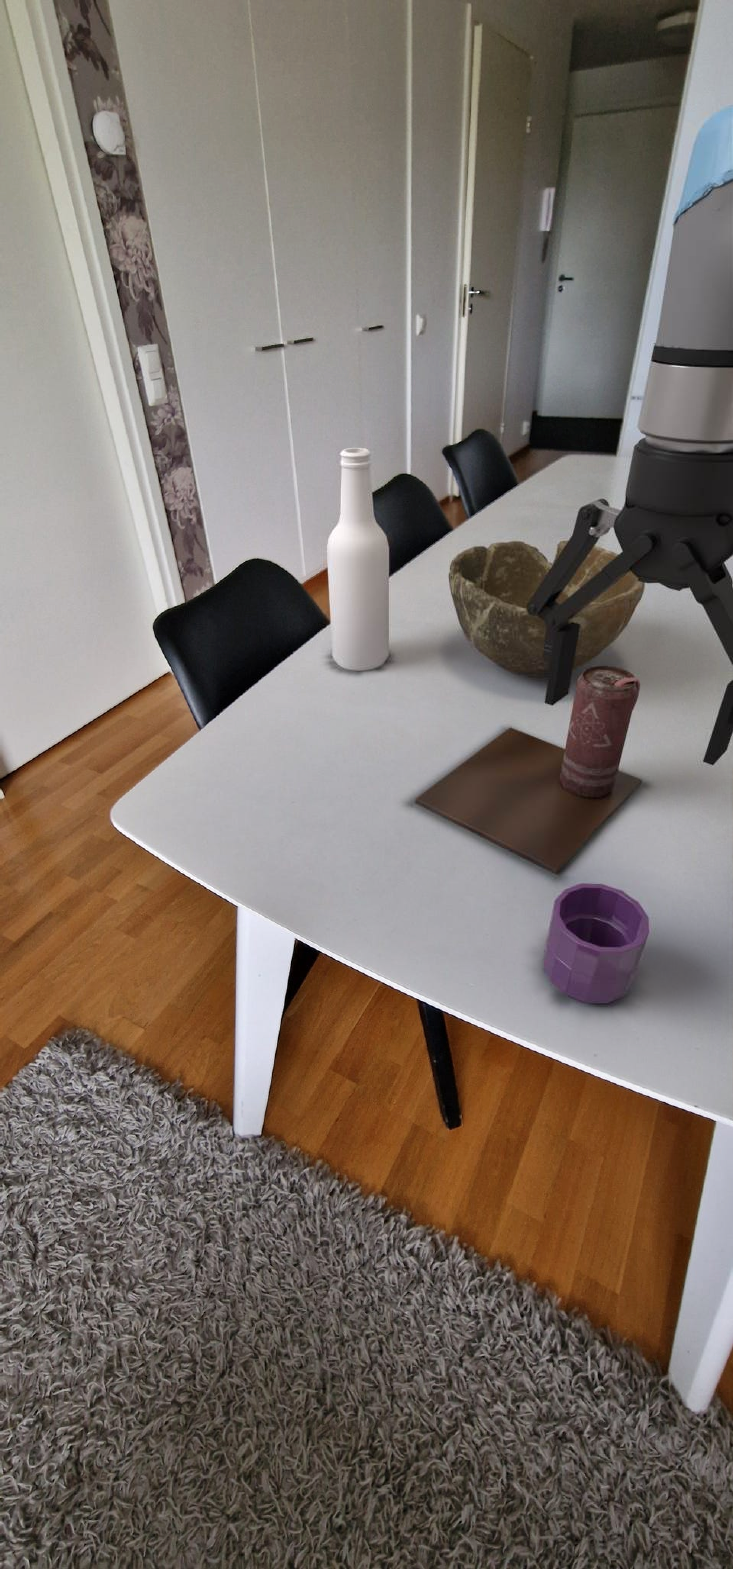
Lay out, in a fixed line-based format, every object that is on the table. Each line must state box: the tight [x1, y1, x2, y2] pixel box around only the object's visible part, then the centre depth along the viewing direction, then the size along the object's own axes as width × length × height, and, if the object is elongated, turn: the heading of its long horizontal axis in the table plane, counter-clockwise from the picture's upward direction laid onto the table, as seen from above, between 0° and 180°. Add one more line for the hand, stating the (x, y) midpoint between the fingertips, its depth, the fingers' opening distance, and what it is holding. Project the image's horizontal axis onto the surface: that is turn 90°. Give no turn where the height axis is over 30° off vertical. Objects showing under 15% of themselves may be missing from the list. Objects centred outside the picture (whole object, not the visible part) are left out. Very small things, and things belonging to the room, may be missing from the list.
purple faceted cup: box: [542, 883, 650, 1004], centre depth 59 cm, size 7×8×7 cm
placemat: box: [414, 727, 643, 875], centre depth 81 cm, size 18×20×1 cm
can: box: [560, 665, 641, 798], centre depth 77 cm, size 6×6×14 cm
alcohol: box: [326, 447, 390, 672], centre depth 101 cm, size 9×9×30 cm
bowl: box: [447, 540, 646, 678], centre depth 103 cm, size 28×27×15 cm
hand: (630, 725), depth 57 cm, fingers open, 13 cm apart
